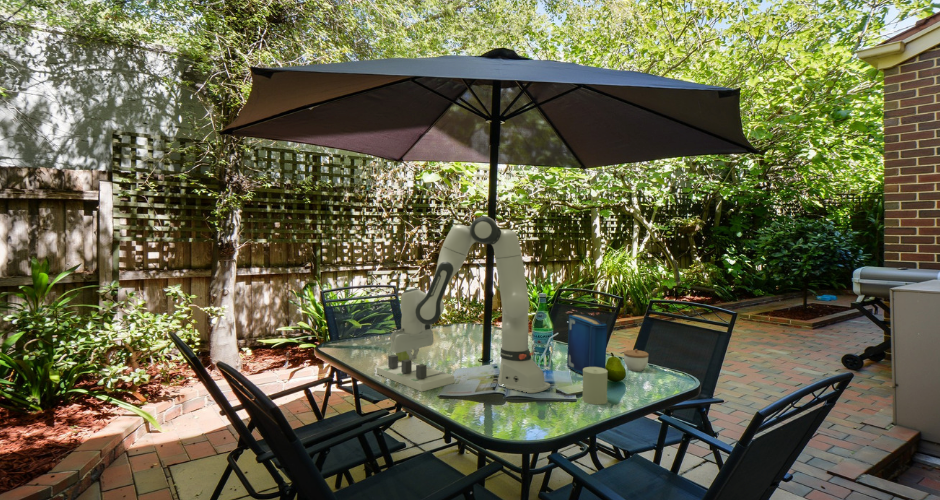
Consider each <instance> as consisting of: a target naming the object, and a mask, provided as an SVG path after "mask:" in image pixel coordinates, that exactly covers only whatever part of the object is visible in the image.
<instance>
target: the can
mask: <svg viewBox="0 0 940 500" xmlns="http://www.w3.org/2000/svg"><path fill="white" fill-rule="evenodd" d="M608 372H609V371H608V370H607V369H606V368H605V369H604V368H600V367H586V368H583V375H582V397H581V400H582V401H583V402H584V403H587V404H589V405H605V404H606V403H608Z"/></svg>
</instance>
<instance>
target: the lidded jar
mask: <svg viewBox="0 0 940 500" xmlns="http://www.w3.org/2000/svg"><path fill="white" fill-rule="evenodd" d="M623 359H624V360H623V361H624V364H625V366H626V367H627V368H628V370H629V371H632V372H633V371H634V372H642V371H643V370H644V369H646V368H647V366H648V362H649V353H648V352H647V351H644V350H638V348H635V349H627V350H624V351H623Z"/></svg>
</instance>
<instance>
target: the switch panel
mask: <svg viewBox="0 0 940 500" xmlns="http://www.w3.org/2000/svg"><path fill="white" fill-rule="evenodd" d="M420 364H421V363H417V362H414V361H412V372H411V373H407V374H405V373H402V361H398V368H393V369H392V368H389V367H388V364H387V365H386V364H385V365H382V366H377V367H376V374H377V375H378V374H379V375H378V376H381V375H382V376H381V377H383V376H384V377H383V378H386V379H388V380H390V381H391V380H392V381H394V382H396V383H399V384H401V385H404V386H406V387H408V388H411V389H413V390H416V391H419V392H421V393H422V392H425V391H429V390H432V389H438V388H441V387H444V386H448V385H452V384H455V375H453V374H450V373H447V372H444V371H441V370H438V369H435V368H432V367H428V366H427V378H423V379H419V378H416V365H420Z"/></svg>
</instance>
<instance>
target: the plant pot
mask: <svg viewBox="0 0 940 500" xmlns="http://www.w3.org/2000/svg"><path fill="white" fill-rule="evenodd" d="M395 355H396V356H398V362H402V360H406V359H408V360H409V355H408V354H407V351H404V352H400V353H395Z"/></svg>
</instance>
